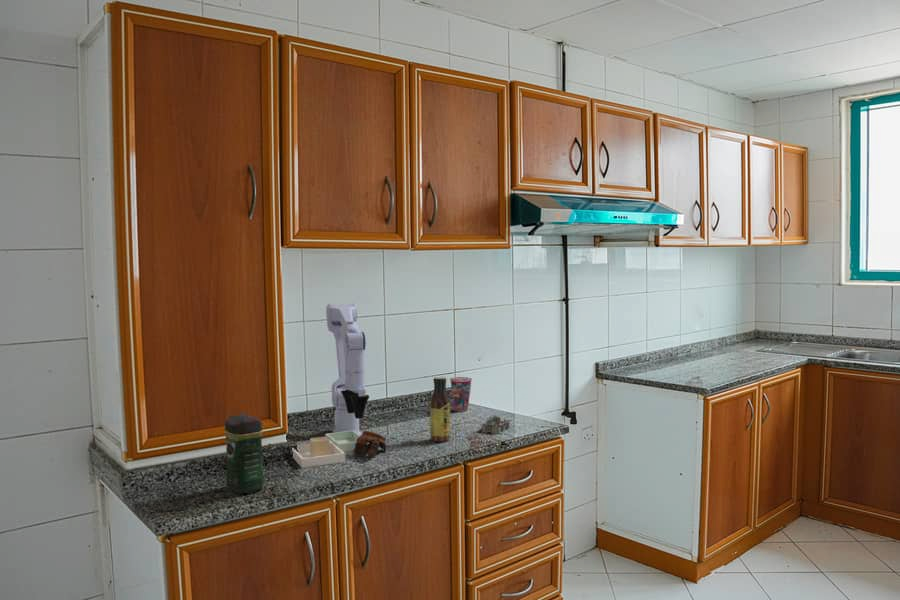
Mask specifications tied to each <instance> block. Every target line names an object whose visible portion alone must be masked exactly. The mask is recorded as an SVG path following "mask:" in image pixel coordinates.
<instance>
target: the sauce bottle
mask: <svg viewBox="0 0 900 600" xmlns="http://www.w3.org/2000/svg"><path fill="white" fill-rule="evenodd" d="M433 387H434V388H433V393H432V395H431V397H430V407H429V408H430V409H429V410H430V411H429V413H430V414H429V415H430V417H429V420H430V423H429V426H430V427H429V429H430V430H429V434H430V440H431V441H432V442H436V443H442V442H448V441H449V440H450V436H451V403H450V399H449V396H448V393H447V378H446V377H444V376H435V377H433Z"/></svg>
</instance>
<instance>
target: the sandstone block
mask: <svg viewBox="0 0 900 600" xmlns="http://www.w3.org/2000/svg"><path fill="white" fill-rule="evenodd" d="M309 441H310V442H309V443H310V453H311V456H312V457H318V456H325V455H329V439H327V438H326V437H325V435H324V436H317V437H310V440H309Z"/></svg>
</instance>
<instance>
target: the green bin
mask: <svg viewBox="0 0 900 600" xmlns="http://www.w3.org/2000/svg"><path fill="white" fill-rule="evenodd" d="M361 435H362V434H360V435H359V434H358V433H357V432H355V431H354V430H353V431H344V432H336V433H334V432H329V433H325V435H324V436H325V437H326V438H327V439H329V440H330V441H331V442H333V443H334V444H335V445H336V446H337V447H338V448H339V449H341V450H342V451H343V452H344V453H347V452H353V450H354V449H355V444H356V442H357V441H356V440H357V438H358V437H359V436H361ZM366 444H369V443H368V442H366Z"/></svg>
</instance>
